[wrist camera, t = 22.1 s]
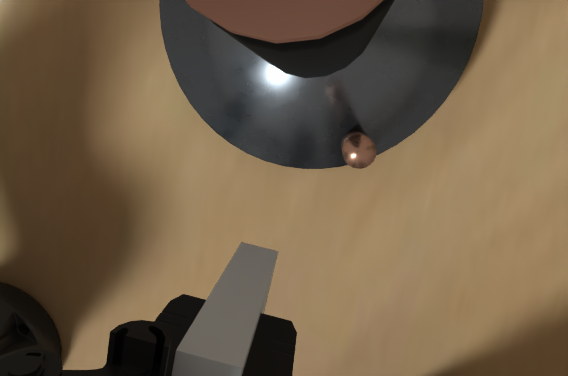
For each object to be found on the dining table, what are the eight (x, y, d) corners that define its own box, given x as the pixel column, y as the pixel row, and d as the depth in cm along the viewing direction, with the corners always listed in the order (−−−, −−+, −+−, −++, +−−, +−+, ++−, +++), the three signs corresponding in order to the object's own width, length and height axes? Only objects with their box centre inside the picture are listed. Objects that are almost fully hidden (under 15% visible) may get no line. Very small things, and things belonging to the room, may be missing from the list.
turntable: (230, 199, 36) (206, 221, 29) (124, -77, 31) (67, -129, 24) (506, 110, 31) (556, 111, 24) (426, -231, 26) (460, -349, 20)
